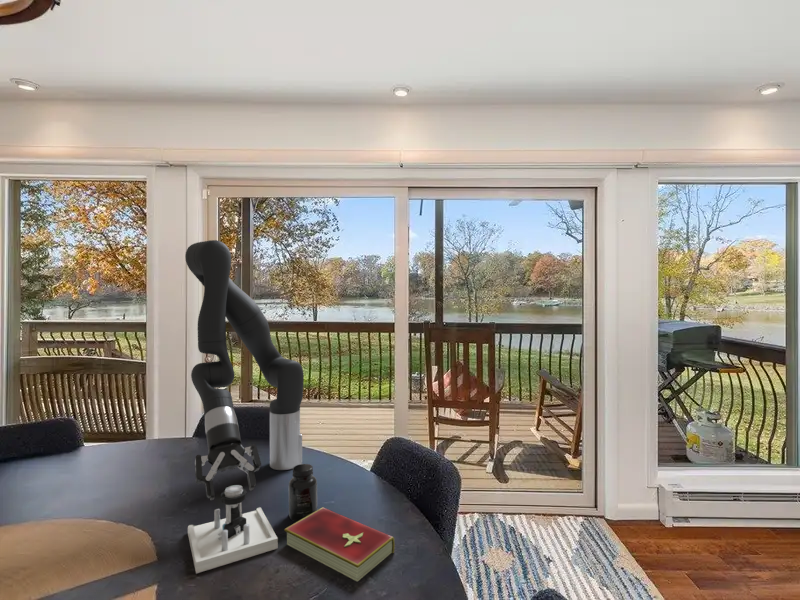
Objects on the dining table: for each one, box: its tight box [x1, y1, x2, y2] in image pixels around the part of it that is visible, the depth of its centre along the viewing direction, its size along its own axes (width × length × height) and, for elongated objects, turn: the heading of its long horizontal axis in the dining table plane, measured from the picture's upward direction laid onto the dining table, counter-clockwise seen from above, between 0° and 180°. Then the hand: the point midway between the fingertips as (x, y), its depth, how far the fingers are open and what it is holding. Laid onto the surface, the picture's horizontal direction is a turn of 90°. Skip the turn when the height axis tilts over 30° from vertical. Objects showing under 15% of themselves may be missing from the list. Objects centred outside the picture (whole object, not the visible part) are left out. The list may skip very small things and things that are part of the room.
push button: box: [218, 484, 248, 540], centre depth 96 cm, size 7×5×10 cm
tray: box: [187, 506, 279, 574], centre depth 96 cm, size 16×16×5 cm
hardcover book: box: [283, 507, 396, 582], centre depth 93 cm, size 12×21×4 cm, turn 55°
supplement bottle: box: [288, 463, 318, 523], centre depth 106 cm, size 7×7×12 cm
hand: (232, 493), depth 99 cm, fingers open, 8 cm apart
